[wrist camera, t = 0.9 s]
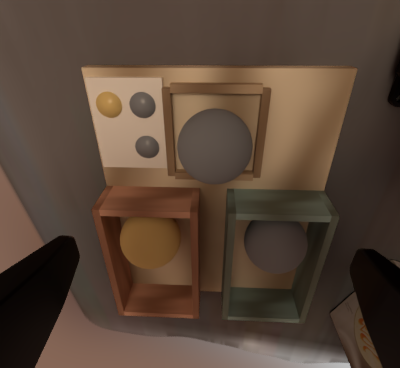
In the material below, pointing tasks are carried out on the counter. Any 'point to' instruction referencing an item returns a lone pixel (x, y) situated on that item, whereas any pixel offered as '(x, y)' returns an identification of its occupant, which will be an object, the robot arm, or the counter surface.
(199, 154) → the slate ball
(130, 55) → the counter surface
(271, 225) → the slate ball
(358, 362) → the coffee box
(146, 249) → the ochre ball
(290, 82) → the wooden sorting board
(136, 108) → the card
